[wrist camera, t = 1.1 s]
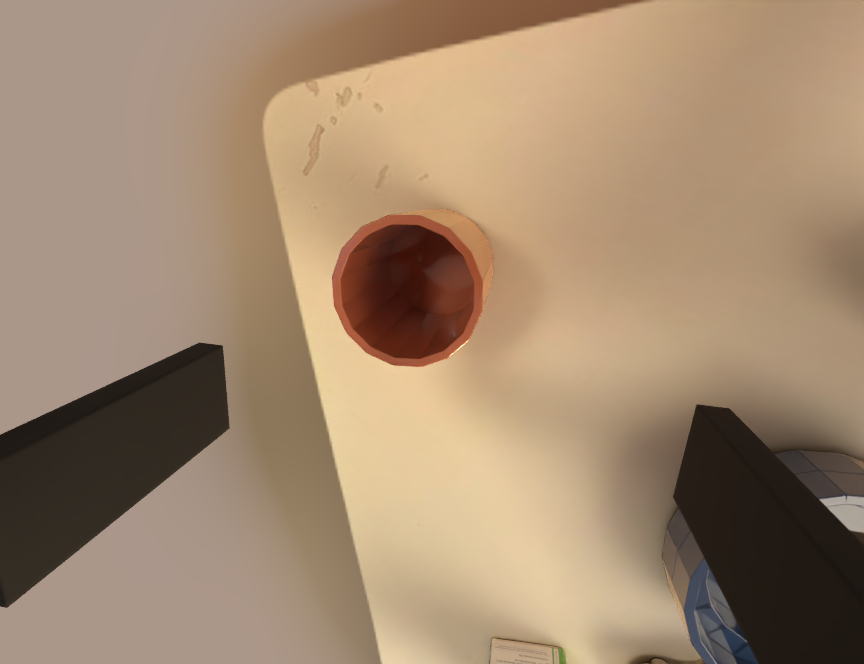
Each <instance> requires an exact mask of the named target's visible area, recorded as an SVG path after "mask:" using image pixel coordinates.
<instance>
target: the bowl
mask: <svg viewBox="0 0 864 664" xmlns="http://www.w3.org/2000/svg"><path fill="white" fill-rule="evenodd" d="M775 455H776V456H777V457H778V458H779V459H780V460H781V461H782V462H783V463H784V464H785V465H786V466H787V467H788V468H789V469H790V470H791V471H792V472H793V473H794V474H795V475H796V477H797V478H798V479H799V480H800V481H801V482H802V483H803V484H804V485H805V486H806V487H807V488H808V489H809V490H810V491H811V492H812V493H813V494H814V495H815V496H816V497H817V498H818V499H819V500H820V501H821V502H822V503H823V504H824V505H825V506H826V507H827V508H828V509H829V510H830V511H831V512H832V513H833V514H834V515H835V516H836V517H837V518H838V519H839V520H840V521H841V522H842V523H843V524H844V525H845V526H846V527H847V528H848V529H849V530H850V531H856V532H862V533H864V461H862V460H859V459H856V458H853V457H851V456H848V455H845V454H842V453H830V452H818V451H806V450H793V451H787V452H781V453H775ZM662 559H663V564H664V568H665V572H666V576H667V580H668V584H669V587H670V590H671V592H672V595H673V597H674V600H675V603H676V605H677V608H678V610H679V613H680V616H681V618H682V621H683V623H684V626H685V629H686V631H687V634H688V636H689V639H690V641H691V644H692V645H693V646H694V648H695V649H696V651H697V652H698V653H699V655H700V656H701V658H702V659H703V661H704V662H705V663H706V664H758V662H757V660H756V658H755V656H754V654H753V652H752V650H751V648H750V646H749V644H748V642H747V641H746V639H745V637H744V635H743V633H742V631H741V629H740V627H739V625H738V623H737V621H736V619H735V617H734V615H733V613H732V611H731V609H730V607H729V605H728V603H727V601H726V599H725V597H724V595H723V593H722V592H721V590H720V588H719V586H718V584H717V582H716V580H715V578H714V576H713V574H712V572H711V570H710V568H709V566H708V564H707V562H706V560H705V558H704V556H703V554H702V552H701V550H700V548H699V546H698V545H697V543H696V541H695V539H694V537H693V535H692V533H691V531H690V529H689V527H688V525H687V523H686V521H685V519H684V517H683V515H682V513H681V511H680V509H679V508H678V510H677V511H676V513H675V515H674V516H673V518H672V519H671V521H670V523H669V524H668V527H667V530H666V536H665V542H664V548H663V553H662Z"/></svg>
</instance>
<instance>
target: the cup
mask: <svg viewBox="0 0 864 664" xmlns="http://www.w3.org/2000/svg"><path fill="white" fill-rule="evenodd" d="M492 279H493V255H492V250H491V247H490V244H489V242H488V240H487V238H486V236H485V235H484V233H483V232H482V230H481V229H480V228H479V227H478V226H477V225H476V224H475V223H474V222H473V221H472V220H470V219H469V218H467V217H466V216H464V215H462V214H460V213H457V212H454V211H451V210H443V209H427V210H420V211H413V212H406V213H399V214H392V215H387V216H385V217H383V218H380V219H378V220H376V221H374V222H371V223H369V224H367V225H365V226H362V227H361V228H360V229H359V230H358V231H357V232H356V233H355V234H354V236H353V237H352V238H351V239H350V240H349V241H348V242H347V243H346V244H345V246H344V247H343V248H342V250H341V252H340V255H339V258H338V261H337V264H336V267H335V270H334V273H333V276H332V283H333V298H334V307H335V309H336V311H337V314H338V316H339V318H340V320H341V322H342V325H343V327H344V329H345V331H346V332H347V334H348V335H349V336H350V337H351V338H352V339H353V340H354V341H355V342H356V343H357V344H358V345H359V346H360V347H361V348H362V349H363V350H364V351H365V352H366V353H368V354H370V355H372V356H374V357H376V358H378V359H381V360H383V361H385V362H387V363H389V364H391V365H398V366H414V367H423V366H426V365H429V364H432V363H435V362H438V361H441V360H444V359H447V358H449V357H450V356H451V355H452V354H453V353H455V352H456V351H457V350H458V349H459V348H460V347H461V346H462V345H464V344H465V343H466V342H467V341H468V340H469V339H470V338H471V335H472V333H473V331H474V329H475V327H476V325H477V323H478V320H479V318H480V316H481V314H482V311H483V308H484V305H485V302H486V298H487V295H488V292H489V289H490V286H491V282H492Z"/></svg>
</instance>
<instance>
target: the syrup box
mask: <svg viewBox="0 0 864 664" xmlns="http://www.w3.org/2000/svg"><path fill="white" fill-rule="evenodd" d="M489 664H566V660H565V651H564V650H563V649H562V648H559V647H553V646H546V645H539V644H532V643H525V642H518V641H510V640H502V639H495V638H492V639H491V649H490V660H489Z"/></svg>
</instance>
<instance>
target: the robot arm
mask: <svg viewBox="0 0 864 664" xmlns="http://www.w3.org/2000/svg"><path fill="white" fill-rule="evenodd" d="M228 429H229V416H228V404H227V392H226V380H225V367H224V356H223V346H221V345H214V344H205V343H198V344H195V345H193V346H191V347H189V348H187V349H185V350H183V351H180V352H178V353H176V354H174V355H172V356H170V357H167V358H165V359H163V360H161V361H159V362H157V363H154V364H152V365H150V366H148V367H146V368H144V369H142V370H139V371H138V372H135V373H133V374H131V375H128V376H126V377H124V378H122V379H120V380H118V381H116V382H113V383H111V384H109V385H107V386H105V387H103V388H100V389H98V390H96V391H94V392H92V393H90V394H87V395H85V396H83V397H81V398H79V399H77V400H75V401H72V402H71V403H68V404H66V405H64V406H61V407H59V408H57V409H55V410H53V411H51V412H49V413H46V414H44V415H42V416H40V417H38V418H36V419H33V420H31V421H29V422H27V423H25V424H23V425H20V426H18V427H16V428H14V429H12V430H10V431H8V432H5V433H3V434H1V435H0V606H1V607H6V608H7V607H9V606H10V605H11V604H12V603H13V602H15V601H16V600H17V599H19V598H20V597H21V596H22V595H23V594H25V593H26V592H27V591H28V590H30V589H31V588H32V587H33V586H35V584H37V583H38V582H39V581H41V580H42V579H43V578H45V577H46V576H47V575H48V574H49V573H51V572H52V571H53V570H54V569H56V568H57V567H58V566H59V565H61V564H62V563H63V562H64V561H65V560H67V559H68V558H69V557H71V556H72V555H73V554H74V553H76V552H77V551H78V550H79V549H80V548H82V547H83V546H84V545H85V544H87V543H88V542H89V541H90V540H92V539H93V538H94V537H95V536H97V535H98V534H99V533H100V532H101V531H103V530H104V529H105V528H106V527H108V526H109V525H110V524H111V523H113V522H114V521H115V520H116V519H118V518H119V517H120V516H121V515H123V514H124V513H125V512H126V511H127V510H129V509H130V508H131V507H133V506H134V505H135V504H136V503H137V502H139V501H140V500H141V499H142V498H144V497H145V496H146V495H147V494H149V493H150V492H151V491H152V490H153V489H155V488H156V487H157V486H159V485H160V484H161V483H162V482H164V481H165V480H166V479H167V478H168V477H170V476H171V475H172V474H173V473H175V472H176V471H177V470H178V469H179V468H181V467H182V466H183V465H185V464H186V463H187V462H188V461H190V460H191V459H192V458H193V457H195V456H196V455H197V454H198V453H200V452H201V451H202V450H203V449H204V448H206V447H207V446H208V445H209V444H211V443H212V442H213V441H214V440H215V439H217V438H218V437H219V436H221V435H222V434H223V433H224V432H226V431H227V430H228ZM673 498H674V499H675V501H676V503H677V505H678V507H679V509H680V511H681V513H682V515H683V517H684V519H685V521H686V523H687V525H688V527H689V529H690V531H691V533H692V535H693V537H694V539H695V541H696V543H697V545H698V546H699V548H700V550H701V552H702V554H703V556H704V558H705V560H706V562H707V564H708V566H709V568H710V570H711V572H712V574H713V576H714V578H715V580H716V582H717V584H718V586H719V588H720V590H721V592H722V593H723V595H724V597H725V599H726V601H727V603H728V605H729V607H730V609H731V611H732V613H733V615H734V617H735V619H736V621H737V623H738V625H739V627H740V629H741V631H742V633H743V635H744V637H745V639H746V641H747V642H748V644H749V646H750V648H751V650H752V652H753V654H754V656H755V658H756V660H757V662H758V664H864V533H862V532H856V531H850V530H849V529H848V528H847V527H846V526H845V525H844V524H843V523H842V522H841V521H840V520H839V519H838V518H837V517H836V516H835V515H834V514H833V513H832V512H831V511H830V510H829V509H828V508H827V507H826V506H825V505H824V504H823V503H822V502H821V501H820V500H819V499H818V498H817V497H816V496H815V495H814V494H813V493H812V492H811V491H810V490H809V489H808V488H807V487H806V486H805V485H804V484H803V483H802V482H801V481H800V480H799V479H798V478H797V477H796V475H795V474H794V473H793V472H792V471H791V470H790V469H789V468H788V467H787V466H786V465H785V464H784V463H783V462H782V461H781V460H780V459H779V458H778V457H777V456H776V455H775V454H774V453H773V452H772V451H771V450H770V449H769V448H768V447H767V446H766V445H765V444H764V443H763V442H762V441H761V440H760V439H759V438H758V437H757V436H756V435H755V434H754V433H753V432H752V431H751V430H750V429H749V428H748V427H747V426H746V425H745V424H744V423H743V422H742V421H741V420H740V419H739V418H738V417H737V416H736V415H735V414H734V413H733V412H732V411H731V410H730V409H729V408H722V407H713V406H705V405H696V409H695V413H694V417H693V421H692V425H691V429H690V433H689V436H688V440H687V444H686V448H685V452H684V456H683V460H682V464H681V468H680V472H679V476H678V480H677V484H676V488H675V491H674V495H673Z"/></svg>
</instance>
